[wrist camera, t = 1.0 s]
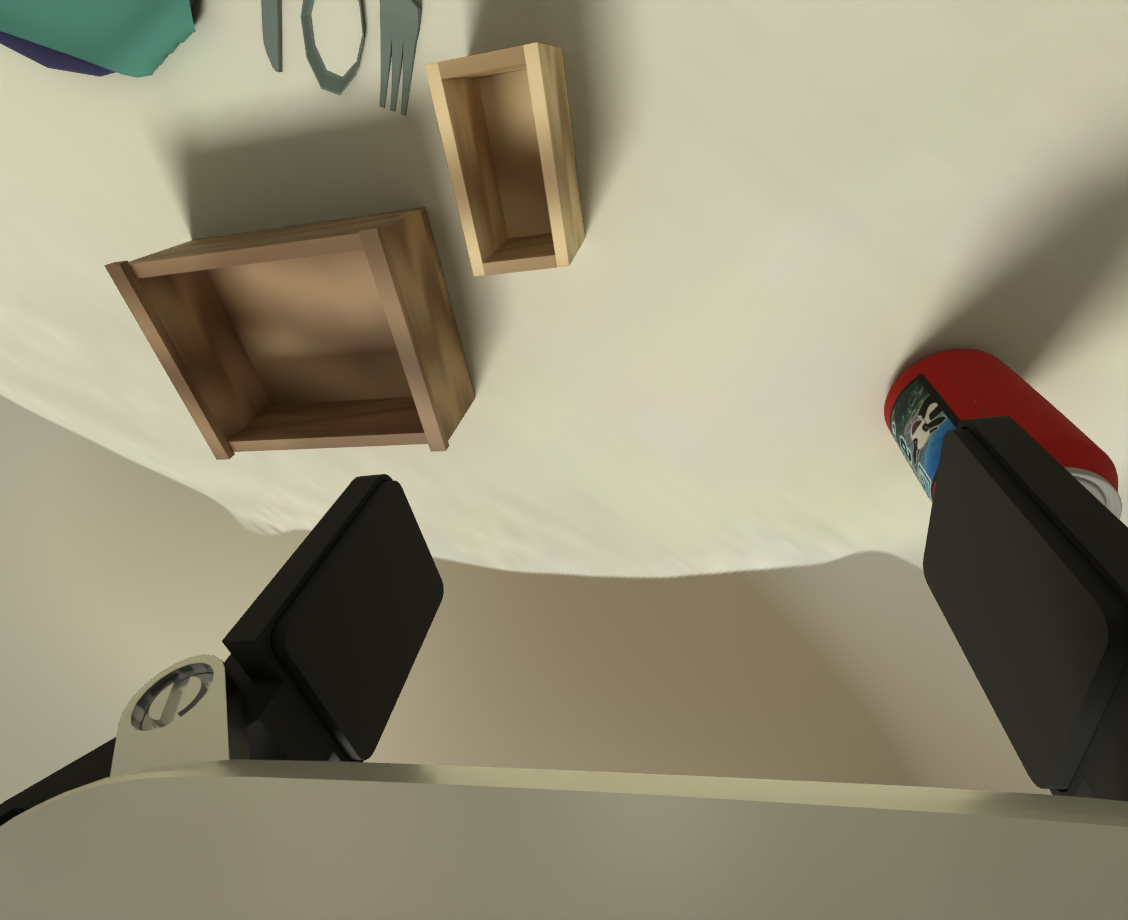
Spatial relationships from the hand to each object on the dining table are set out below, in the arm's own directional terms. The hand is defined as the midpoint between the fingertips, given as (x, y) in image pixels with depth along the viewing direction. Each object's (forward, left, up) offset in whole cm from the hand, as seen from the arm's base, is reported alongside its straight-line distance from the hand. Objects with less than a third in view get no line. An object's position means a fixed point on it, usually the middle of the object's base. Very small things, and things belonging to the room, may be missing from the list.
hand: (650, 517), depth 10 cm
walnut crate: (+4, -22, -26) cm, 34 cm away
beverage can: (+12, +16, -26) cm, 33 cm away
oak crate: (-4, -7, -26) cm, 27 cm away
